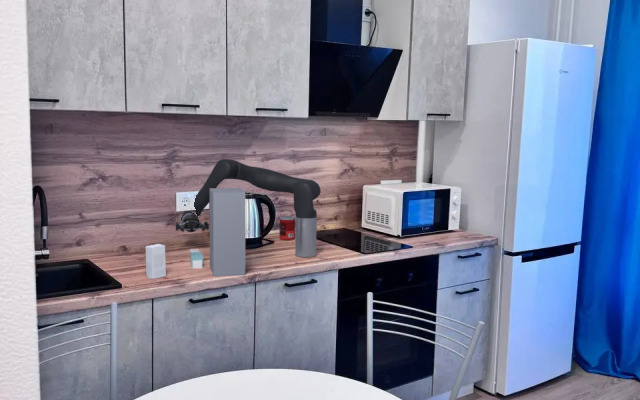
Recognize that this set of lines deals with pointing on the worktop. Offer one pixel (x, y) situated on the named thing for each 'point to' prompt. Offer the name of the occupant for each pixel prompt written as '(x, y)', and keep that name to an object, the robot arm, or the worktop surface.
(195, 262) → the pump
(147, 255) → the skincare box
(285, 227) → the canned food
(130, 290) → the worktop surface
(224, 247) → the stand
